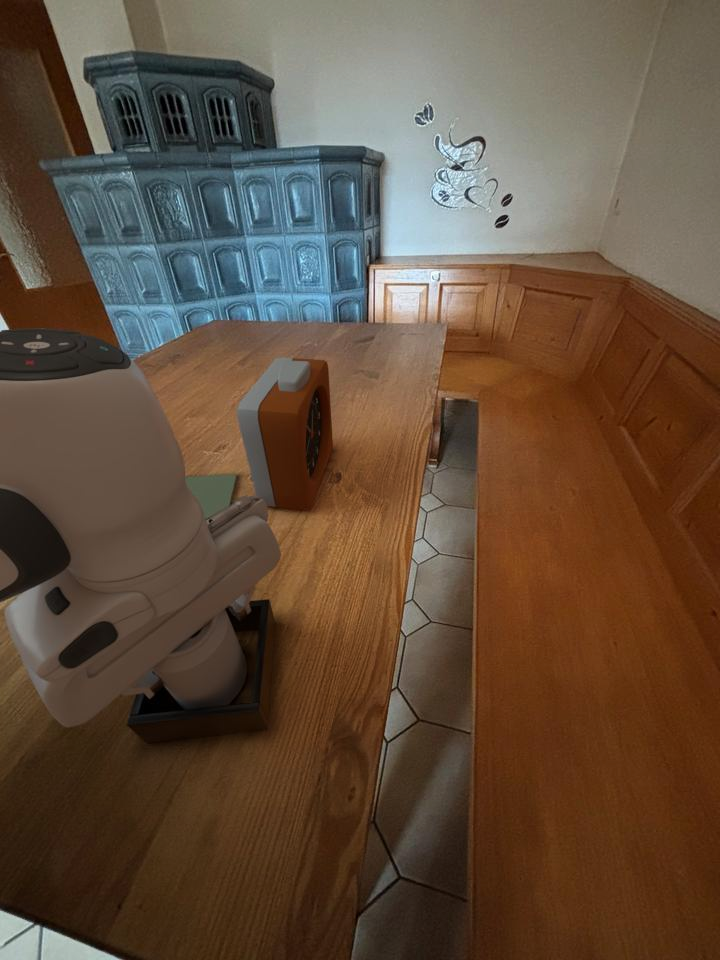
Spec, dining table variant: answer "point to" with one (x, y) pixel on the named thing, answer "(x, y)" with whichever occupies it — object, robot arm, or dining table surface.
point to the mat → (212, 491)
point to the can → (205, 667)
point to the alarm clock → (288, 431)
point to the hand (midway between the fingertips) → (200, 647)
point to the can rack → (219, 719)
